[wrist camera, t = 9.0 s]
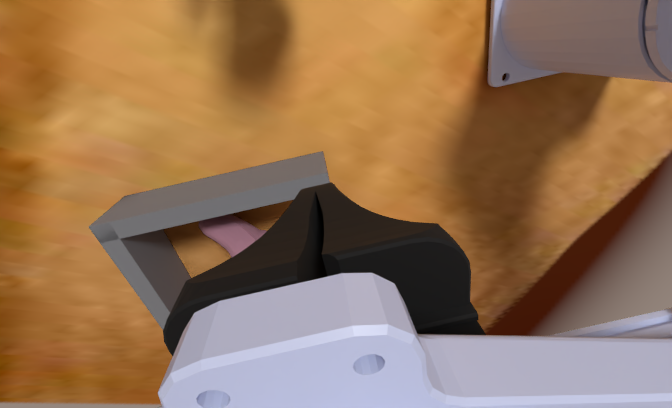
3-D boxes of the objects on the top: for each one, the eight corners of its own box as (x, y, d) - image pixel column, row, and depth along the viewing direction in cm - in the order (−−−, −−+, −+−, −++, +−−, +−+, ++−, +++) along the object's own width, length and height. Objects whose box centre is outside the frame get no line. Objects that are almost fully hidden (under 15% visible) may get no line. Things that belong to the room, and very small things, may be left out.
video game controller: (258, 291, 28) (289, 349, 23) (207, 308, 26) (229, 377, 21) (256, 198, 24) (295, 246, 19) (194, 208, 21) (219, 266, 16)
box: (322, 151, 21) (327, 172, 17) (365, 338, 30) (374, 376, 27) (124, 196, 21) (88, 226, 17) (230, 368, 30) (221, 410, 27)
